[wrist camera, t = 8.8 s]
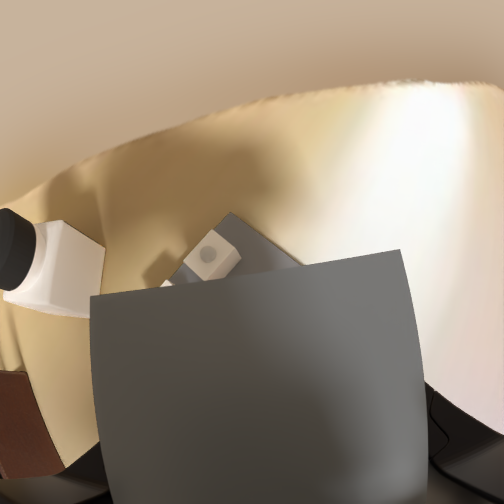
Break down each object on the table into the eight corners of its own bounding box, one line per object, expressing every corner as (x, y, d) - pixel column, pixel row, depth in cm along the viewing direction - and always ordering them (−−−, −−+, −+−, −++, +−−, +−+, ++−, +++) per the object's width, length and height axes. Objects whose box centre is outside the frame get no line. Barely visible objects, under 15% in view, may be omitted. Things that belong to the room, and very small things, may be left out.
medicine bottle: (107, 247, 27) (22, 190, 16) (98, 319, 25) (-2, 289, 14) (59, 251, 29) (-20, 204, 17) (50, 314, 26) (-39, 286, 15)
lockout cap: (342, 419, 14) (421, 542, 2) (245, 430, 14) (129, 551, 3) (330, 326, 15) (399, 249, 4) (234, 339, 16) (89, 296, 5)
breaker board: (222, 489, 19) (207, 510, 15) (103, 365, 24) (74, 364, 20) (375, 328, 21) (390, 322, 17) (232, 216, 26) (221, 193, 22)
